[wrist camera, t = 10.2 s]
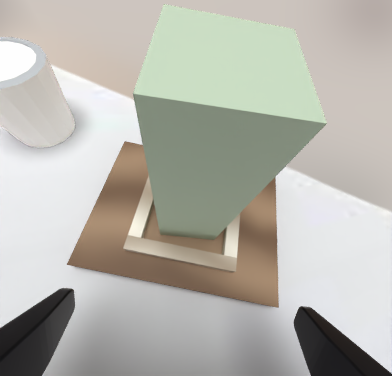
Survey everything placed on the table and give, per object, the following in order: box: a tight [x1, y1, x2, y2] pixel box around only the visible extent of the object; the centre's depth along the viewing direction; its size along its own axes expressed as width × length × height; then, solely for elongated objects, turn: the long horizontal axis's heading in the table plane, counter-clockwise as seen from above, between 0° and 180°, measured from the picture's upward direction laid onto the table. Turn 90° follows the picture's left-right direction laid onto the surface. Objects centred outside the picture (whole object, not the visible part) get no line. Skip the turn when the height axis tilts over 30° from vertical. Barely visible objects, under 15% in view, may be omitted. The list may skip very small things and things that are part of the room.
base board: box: [67, 141, 279, 308], centre depth 17 cm, size 12×16×2 cm
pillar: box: [133, 4, 327, 240], centre depth 11 cm, size 4×4×13 cm
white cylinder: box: [0, 37, 75, 148], centre depth 17 cm, size 7×7×7 cm
